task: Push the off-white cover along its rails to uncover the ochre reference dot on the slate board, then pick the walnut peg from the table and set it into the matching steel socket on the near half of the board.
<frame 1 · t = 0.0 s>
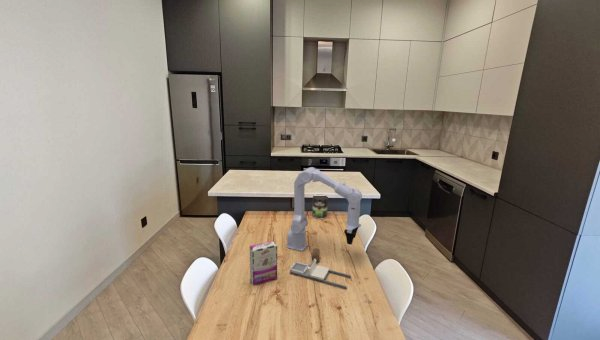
hand: (351, 240, 140), 10 cm above the table, fingers open, 7 cm apart
peg: (315, 261, 139), on the table
candy bar box: (263, 279, 124), on the table
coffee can: (319, 216, 193), on the table
board: (310, 273, 129), on the table
cover: (318, 268, 127), point 3 cm above the table, slide at 0.0 cm
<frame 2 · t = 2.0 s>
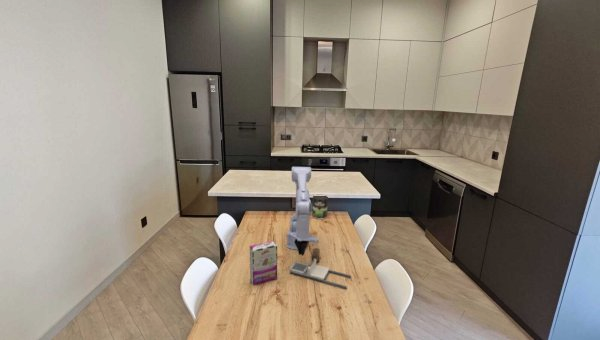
hand: (301, 254, 129), 8 cm above the table, fingers closed
nothing on the table moved.
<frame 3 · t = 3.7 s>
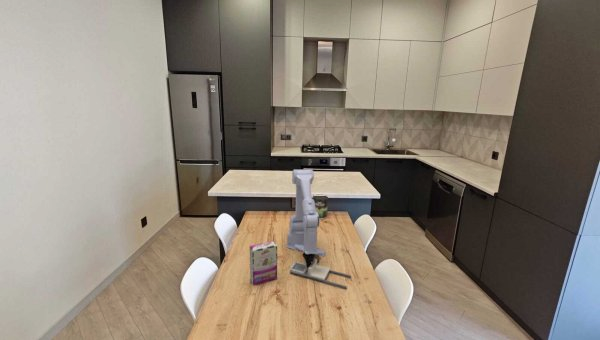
hand: (308, 266, 129), 3 cm above the table, fingers closed
cover: (319, 268, 127), point 3 cm above the table, slide at 0.3 cm, touching gripper
everything else where it was.
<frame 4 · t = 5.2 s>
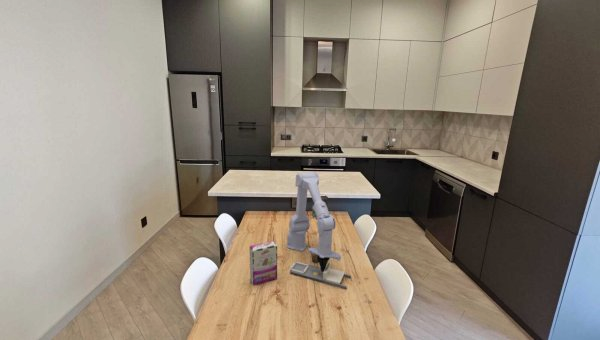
hand: (323, 270, 126), 3 cm above the table, fingers closed
cover: (334, 272, 124), point 3 cm above the table, slide at 7.2 cm, touching gripper
everything else where it was.
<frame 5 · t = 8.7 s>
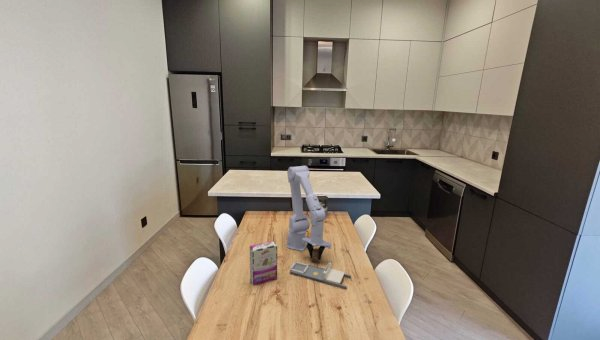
hand: (315, 258, 139), 2 cm above the table, fingers closed on peg, 4 cm apart
peg: (315, 261, 139), on the table, touching gripper
cover: (334, 272, 124), point 3 cm above the table, slide at 7.2 cm
everything else where it was.
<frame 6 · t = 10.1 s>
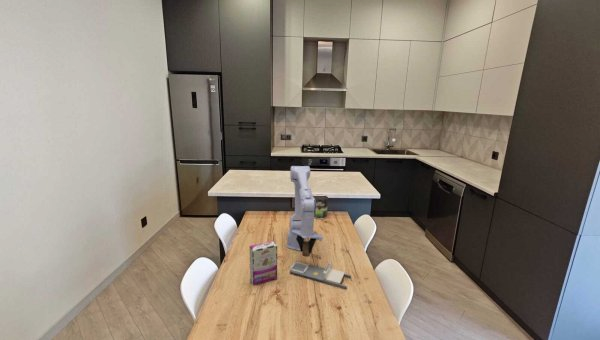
hand: (306, 251, 131), 8 cm above the table, fingers closed on peg, 4 cm apart
peg: (306, 254, 132), point 7 cm above the table, touching gripper
everything else where it was.
when the fingers open (4 cm above the table, at t = 11.6 s): peg drops 1 cm, resting on board.
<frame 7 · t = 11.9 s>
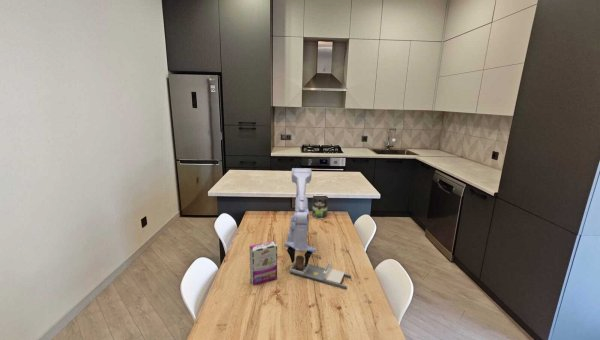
hand: (299, 263, 129), 4 cm above the table, fingers open, 6 cm apart
peg: (299, 269, 130), point 1 cm above the table, touching board
everything else where it was.
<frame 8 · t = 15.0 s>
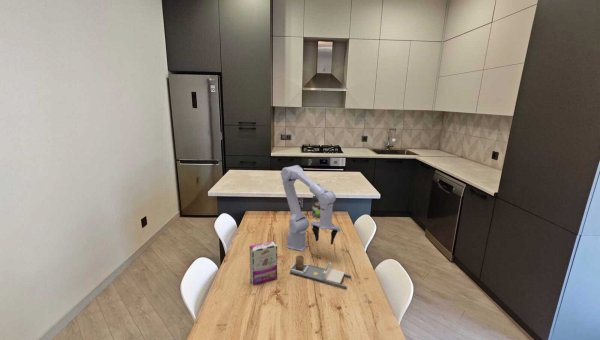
hand: (324, 241, 139), 9 cm above the table, fingers open, 7 cm apart
nothing on the table moved.
at the end: cover slide at 7.2 cm; peg 0.1 cm from the target spot, point 1.0 cm above the table; peg tilted 0° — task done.
